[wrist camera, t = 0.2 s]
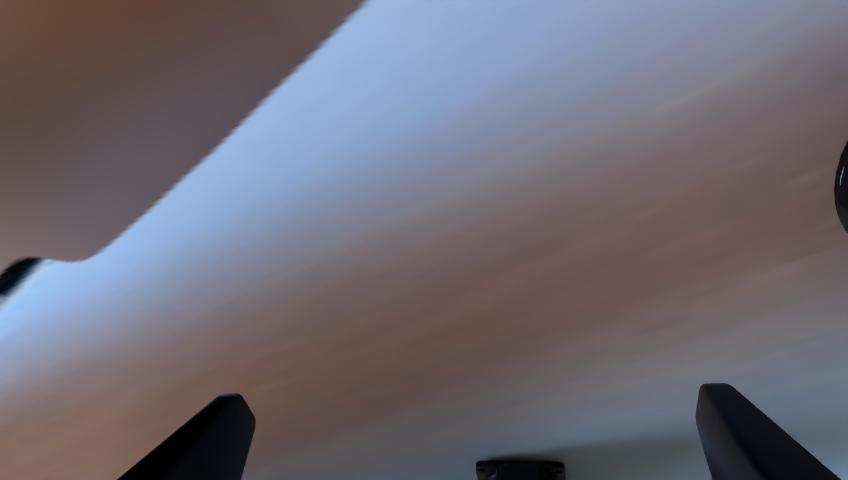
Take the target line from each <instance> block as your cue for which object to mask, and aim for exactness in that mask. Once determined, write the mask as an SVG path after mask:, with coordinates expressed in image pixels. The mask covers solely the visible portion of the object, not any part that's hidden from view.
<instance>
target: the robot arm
mask: <svg viewBox="0 0 848 480" xmlns="http://www.w3.org/2000/svg"><path fill="white" fill-rule="evenodd" d="M255 424H256V423H255V417H254V415H253V413H252V411H251V410H250V408H249V406H248V405H247V403H246V401H245V400H244V398H243V397H242V396H241V395H240V394H237V393H230V394H221V395H219V396H218V397H216V398H215V399H214V400H213V401H211V402H210V403H209V404H208V405H207V406H205V407H204V408H203V409H202V410H201V411H199V412H198V413H197V414H196V415H195V416H193V417H192V418H191V419H190V420H189V421H187V422H186V423H185V424H184V425H183V426H181V427H180V428H179V429H178V430H176V431H175V432H174V433H173V434H172V435H170V436H169V437H168V438H167V439H166V440H164V441H163V442H162V443H161V444H160V445H158V446H157V447H156V448H155V449H154V450H152V451H151V452H150V453H149V454H148V455H146V456H145V457H144V458H143V459H141V460H140V461H139V462H138V463H137V464H135V465H134V466H133V467H132V468H131V469H129V470H128V471H127V472H126V473H125V474H123V475H122V476H121V477H120V478H119V479H117V480H241V478H242V474H243V470H244V467H245V463H246V460H247V456H248V452H249V449H250V445H251V441H252V438H253V434H254V431H255ZM696 424H697V429H698V432H699V436H700V439H701V442H702V446H703V449H704V453H705V456H706V460H707V463H708V466H709V470H710V473H711V477H712V480H841V479H840V478H839V477H837V476H836V475H835V474H834V473H833V472H832V471H830V470H829V469H828V468H827V467H826V466H825V465H823V464H822V463H821V462H820V461H819V460H818V459H816V458H815V457H814V456H813V455H812V454H811V453H809V452H808V451H807V450H806V449H805V448H804V447H802V446H801V445H800V444H799V443H798V442H797V441H795V440H794V439H793V438H792V437H791V436H790V435H788V434H787V433H786V432H785V431H784V430H783V429H781V428H780V427H779V426H778V425H777V424H776V423H774V422H773V421H772V420H771V419H770V418H769V417H767V416H766V415H765V414H764V413H763V412H762V411H760V410H759V409H758V408H757V407H756V406H755V405H753V404H752V403H751V402H750V401H749V400H748V399H746V398H745V397H744V396H743V395H742V394H741V393H739V392H738V391H737V390H736V389H735V388H734V387H732V386H731V385H729V384H725V383H709V384H703V385H702V386H701V387H700V390H699V396H698V402H697V408H696ZM476 473H477V477H478V480H566V477H565V466H564V465H563V464H562V463H559V462H508V461H479V462H477V463H476Z"/></svg>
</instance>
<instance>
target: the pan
mask: <svg viewBox="0 0 848 480" xmlns="http://www.w3.org/2000/svg"><path fill="white" fill-rule="evenodd" d="M834 193H835V205H836V209H837V212H838V216H839V219H840V221H841V223H842V225H843V227H844V229H845V231H846V232H847V233H848V141H847V143H846V146H845V148H844V150H843V152H842V155H841V158H840V161H839V165H838V168H837V172H836V179H835V187H834Z"/></svg>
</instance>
